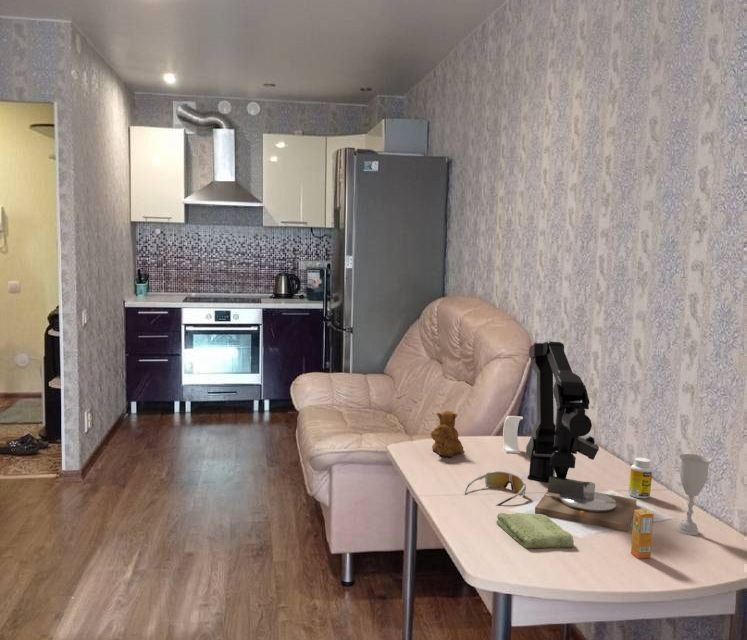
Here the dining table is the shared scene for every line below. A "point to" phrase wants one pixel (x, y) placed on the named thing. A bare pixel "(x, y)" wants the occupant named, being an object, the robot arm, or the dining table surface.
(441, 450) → the brown teddy bear
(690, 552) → the dining table surface
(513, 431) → the headphone stand
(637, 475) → the supplement bottle
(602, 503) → the dial
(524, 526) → the washcloth
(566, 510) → the dial base
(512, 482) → the sunglasses
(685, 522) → the chalice
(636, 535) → the supplement box
